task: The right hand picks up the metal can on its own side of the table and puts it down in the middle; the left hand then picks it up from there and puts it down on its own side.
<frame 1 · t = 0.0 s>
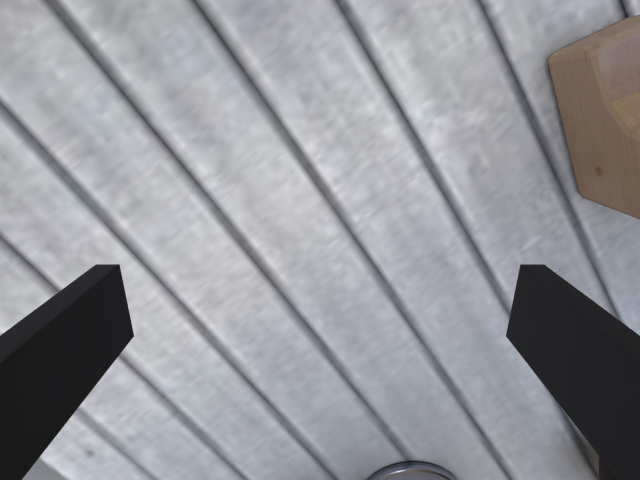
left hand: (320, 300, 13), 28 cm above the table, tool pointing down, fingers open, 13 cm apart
decorative block: (598, 114, 37), on the table
plush toy: (636, 425, 51), on the table
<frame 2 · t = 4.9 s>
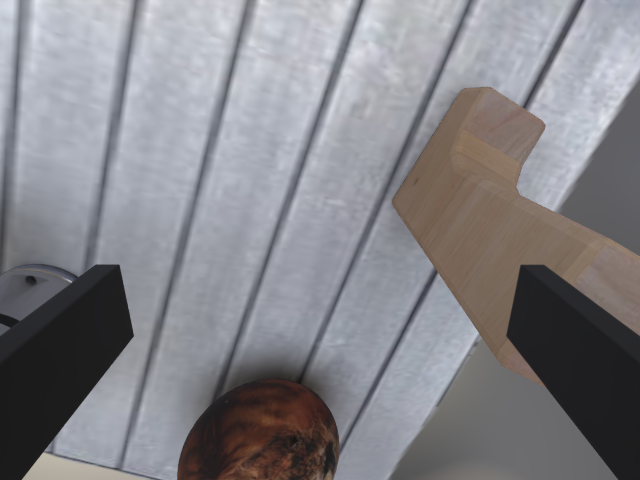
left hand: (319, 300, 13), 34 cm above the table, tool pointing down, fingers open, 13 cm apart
decorative block: (449, 163, 44), on the table
plush toy: (267, 404, 57), on the table
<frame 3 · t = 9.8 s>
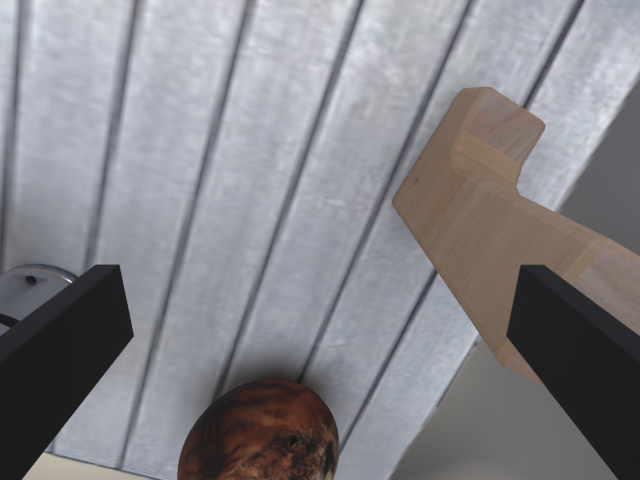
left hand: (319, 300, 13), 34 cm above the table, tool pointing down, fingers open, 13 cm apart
decorative block: (449, 163, 44), on the table
plush toy: (267, 404, 57), on the table
when the right hand's fingers open (1 cm above the table, at t = 14.8 s): can stays where it is, on the table.
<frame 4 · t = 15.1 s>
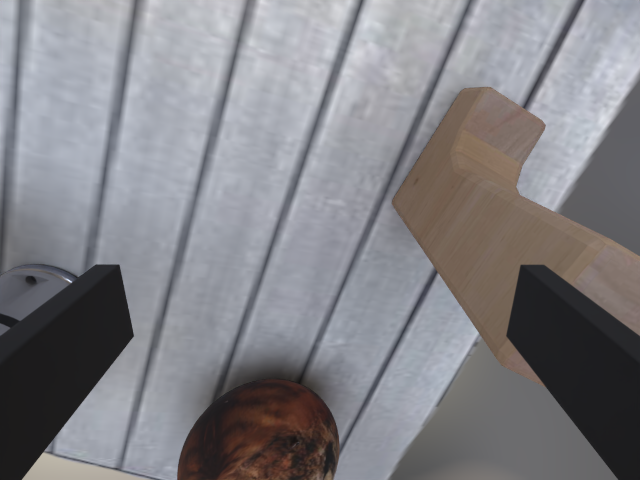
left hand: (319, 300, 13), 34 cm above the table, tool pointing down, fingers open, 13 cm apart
decorative block: (449, 163, 44), on the table
plush toy: (267, 404, 57), on the table
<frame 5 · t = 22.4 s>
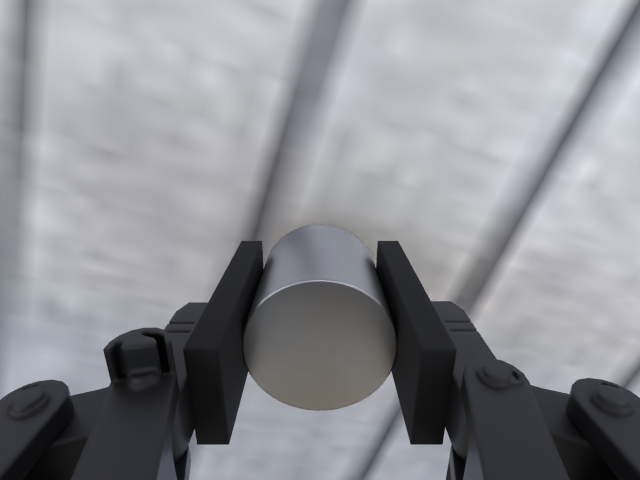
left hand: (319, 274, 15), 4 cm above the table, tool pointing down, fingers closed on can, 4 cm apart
can: (319, 276, 15), point 3 cm above the table, touching left hand
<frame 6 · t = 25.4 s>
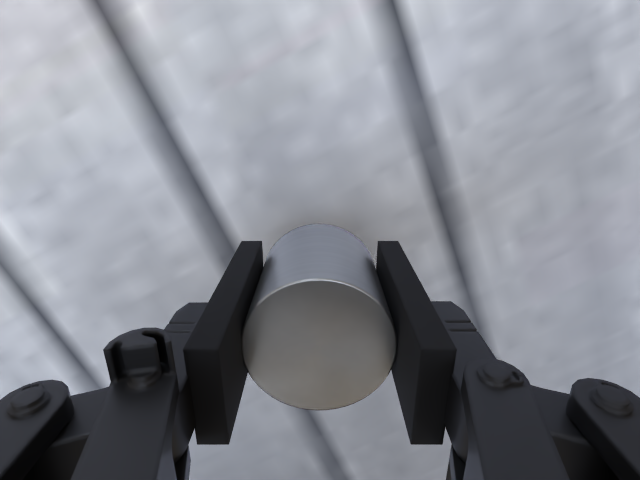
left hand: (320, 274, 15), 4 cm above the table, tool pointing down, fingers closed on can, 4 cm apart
can: (319, 276, 15), point 4 cm above the table, touching left hand
when the left hand's fingers open (1 cm above the table, at t = 28.7 s): can stays where it is, on the table.
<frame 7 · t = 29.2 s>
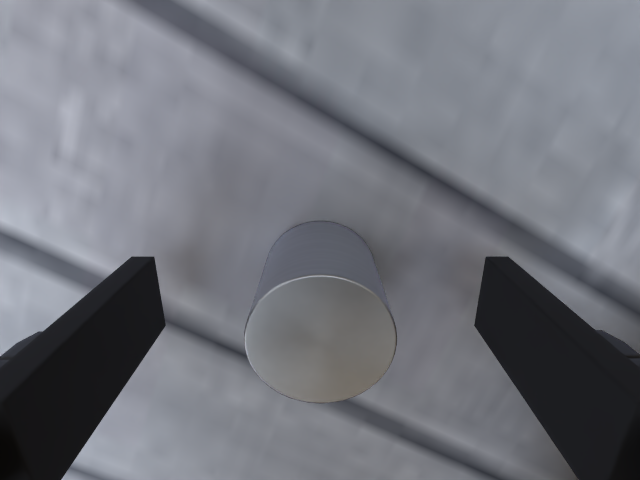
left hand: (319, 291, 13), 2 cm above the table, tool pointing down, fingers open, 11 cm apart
can: (320, 272, 15), on the table
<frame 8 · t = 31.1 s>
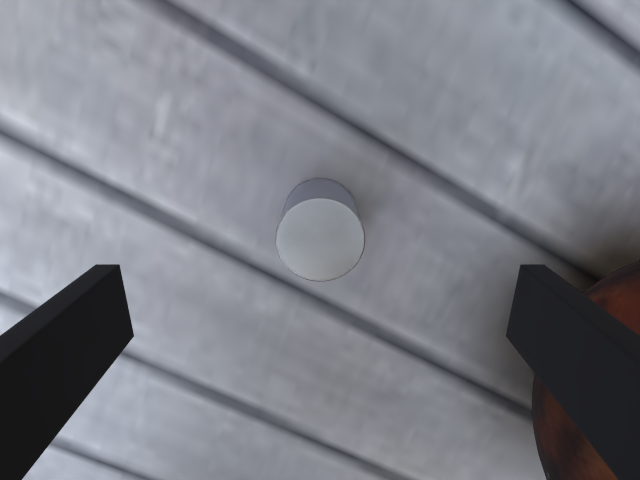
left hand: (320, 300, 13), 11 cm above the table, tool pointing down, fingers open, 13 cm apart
can: (320, 213, 23), on the table
plush toy: (614, 347, 26), on the table
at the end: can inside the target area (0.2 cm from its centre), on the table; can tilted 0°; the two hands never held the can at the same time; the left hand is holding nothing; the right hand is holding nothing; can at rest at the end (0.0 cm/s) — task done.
